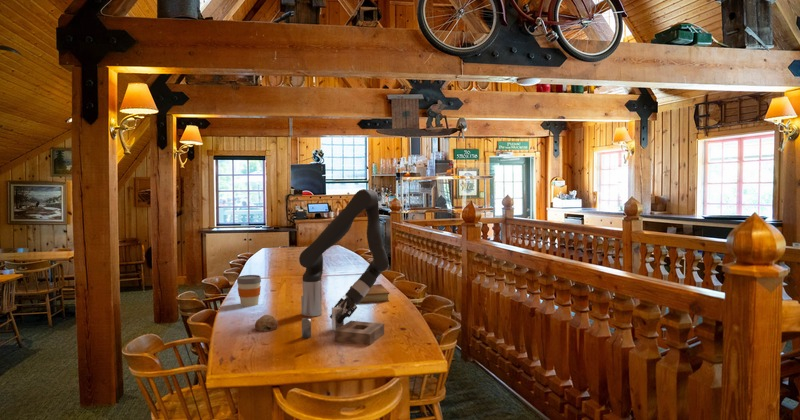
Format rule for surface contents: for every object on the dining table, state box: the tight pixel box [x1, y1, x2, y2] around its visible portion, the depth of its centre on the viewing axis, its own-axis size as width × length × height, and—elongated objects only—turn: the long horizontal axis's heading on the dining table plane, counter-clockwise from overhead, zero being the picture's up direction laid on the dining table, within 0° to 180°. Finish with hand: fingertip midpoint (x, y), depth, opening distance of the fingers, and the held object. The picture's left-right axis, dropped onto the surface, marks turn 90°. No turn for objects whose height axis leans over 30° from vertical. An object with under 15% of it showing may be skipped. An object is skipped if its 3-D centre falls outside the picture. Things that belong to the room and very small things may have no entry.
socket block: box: [334, 320, 385, 346], centre depth 222 cm, size 16×16×4 cm
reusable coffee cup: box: [236, 274, 262, 307], centre depth 281 cm, size 13×13×15 cm
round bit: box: [301, 317, 312, 340], centre depth 222 cm, size 4×4×8 cm
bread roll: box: [254, 314, 279, 332], centre depth 236 cm, size 10×10×8 cm
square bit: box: [331, 306, 345, 332], centre depth 233 cm, size 4×4×10 cm
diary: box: [349, 283, 390, 304], centre depth 295 cm, size 23×19×6 cm
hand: (334, 320), depth 232 cm, fingers open, 7 cm apart
